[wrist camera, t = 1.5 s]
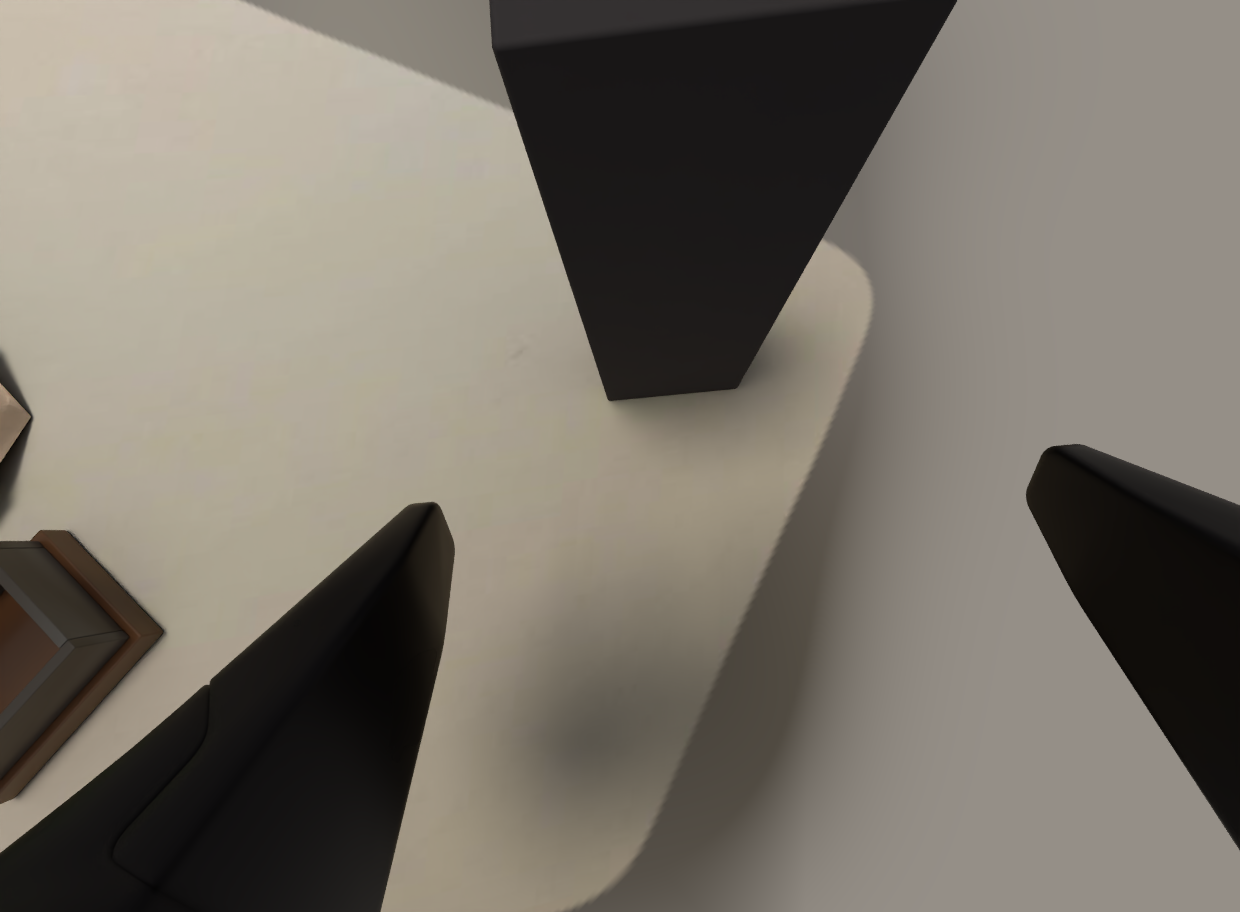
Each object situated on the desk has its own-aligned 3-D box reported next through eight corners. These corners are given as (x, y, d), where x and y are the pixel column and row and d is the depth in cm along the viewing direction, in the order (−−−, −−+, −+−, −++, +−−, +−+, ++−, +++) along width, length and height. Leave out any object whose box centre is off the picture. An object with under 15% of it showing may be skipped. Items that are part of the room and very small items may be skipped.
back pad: (737, 388, 22) (967, -13, 6) (608, 401, 22) (490, 47, 6) (728, 314, 22) (920, -248, 6) (602, 327, 22) (476, -184, 6)
